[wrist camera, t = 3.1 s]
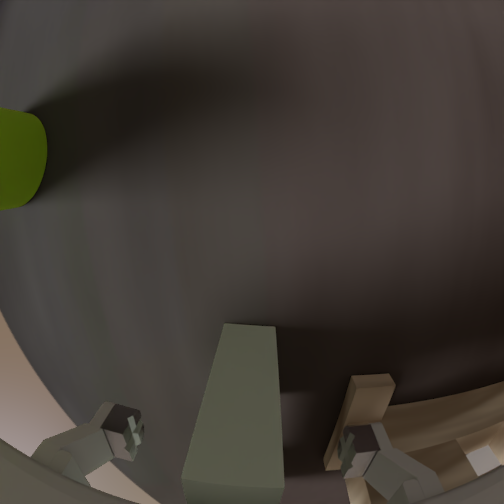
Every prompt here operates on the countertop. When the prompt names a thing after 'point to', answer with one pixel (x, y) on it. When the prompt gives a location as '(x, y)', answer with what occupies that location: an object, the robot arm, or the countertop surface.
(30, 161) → the soap dispenser
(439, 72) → the countertop surface
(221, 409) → the grey-green rectangular slab
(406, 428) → the wooden peg bench
